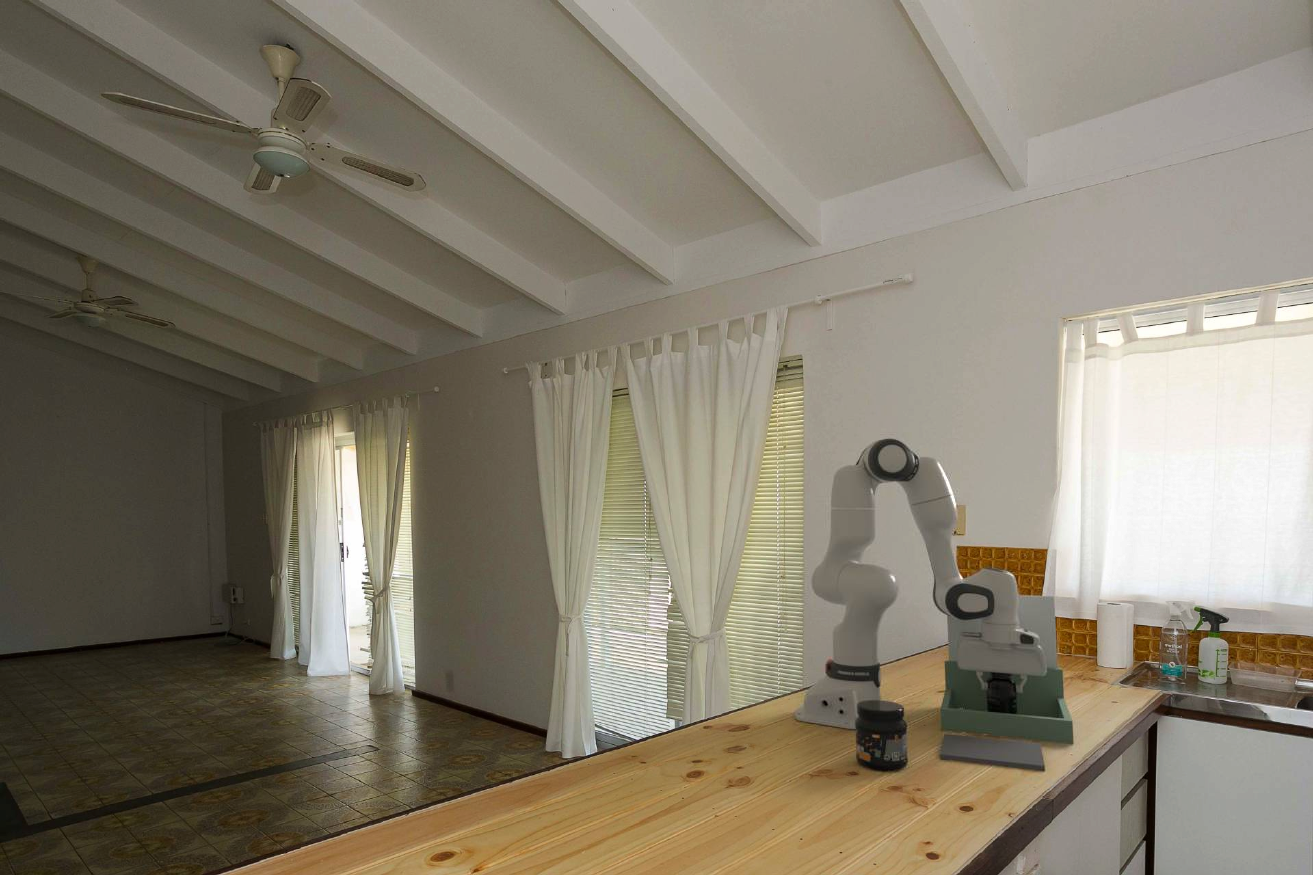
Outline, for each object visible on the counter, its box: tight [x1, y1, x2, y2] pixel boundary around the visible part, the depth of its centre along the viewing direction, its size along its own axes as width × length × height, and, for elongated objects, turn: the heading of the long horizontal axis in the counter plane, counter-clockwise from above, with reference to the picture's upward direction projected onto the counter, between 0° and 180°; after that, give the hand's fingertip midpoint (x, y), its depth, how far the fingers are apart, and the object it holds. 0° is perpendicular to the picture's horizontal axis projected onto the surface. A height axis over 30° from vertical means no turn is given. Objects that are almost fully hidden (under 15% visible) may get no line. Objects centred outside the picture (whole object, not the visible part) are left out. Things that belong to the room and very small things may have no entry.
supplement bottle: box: [986, 672, 1018, 715], centre depth 193 cm, size 7×7×12 cm
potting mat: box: [939, 733, 1046, 772], centre depth 169 cm, size 20×16×1 cm
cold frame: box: [940, 594, 1075, 745], centre depth 193 cm, size 28×25×30 cm
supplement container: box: [855, 699, 909, 772], centre depth 163 cm, size 10×10×12 cm
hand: (1002, 691), depth 192 cm, fingers closed on supplement bottle, 6 cm apart
